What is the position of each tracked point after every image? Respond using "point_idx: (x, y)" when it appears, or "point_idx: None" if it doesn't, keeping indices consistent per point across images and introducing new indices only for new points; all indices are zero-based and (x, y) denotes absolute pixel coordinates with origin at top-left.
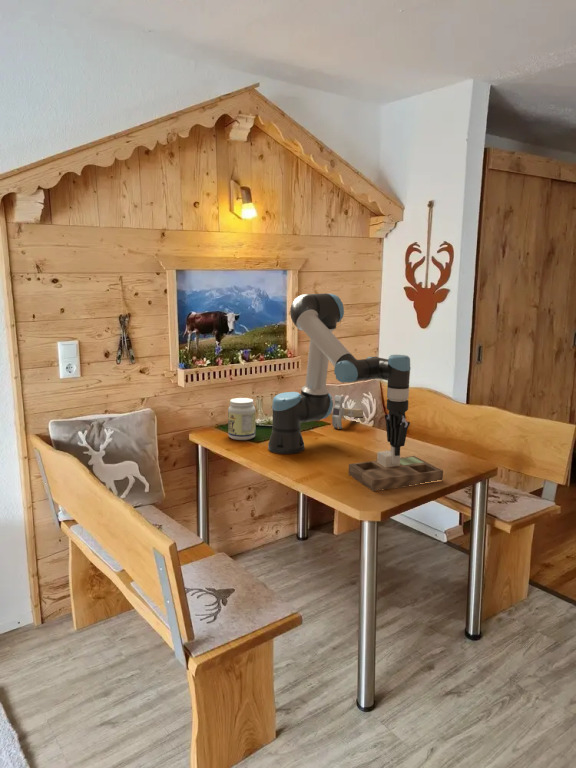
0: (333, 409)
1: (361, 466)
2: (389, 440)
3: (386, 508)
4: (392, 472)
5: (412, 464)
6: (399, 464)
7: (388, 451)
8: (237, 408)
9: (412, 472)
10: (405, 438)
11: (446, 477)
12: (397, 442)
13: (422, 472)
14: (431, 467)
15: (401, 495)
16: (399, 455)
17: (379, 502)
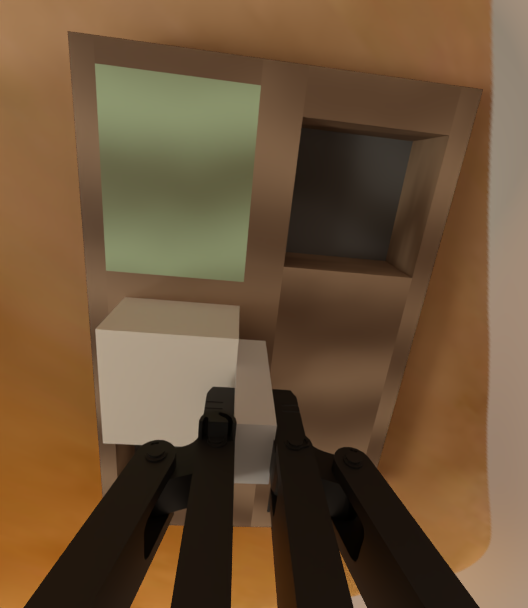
0: None
1: (122, 457)
2: (172, 510)
3: (487, 515)
4: (320, 411)
5: (259, 212)
6: (238, 311)
7: (120, 370)
8: None
9: (383, 316)
10: (426, 539)
11: (403, 10)
12: (342, 540)
13: (418, 260)
14: (381, 122)
15: (438, 416)
16: (290, 390)
17: (436, 510)
